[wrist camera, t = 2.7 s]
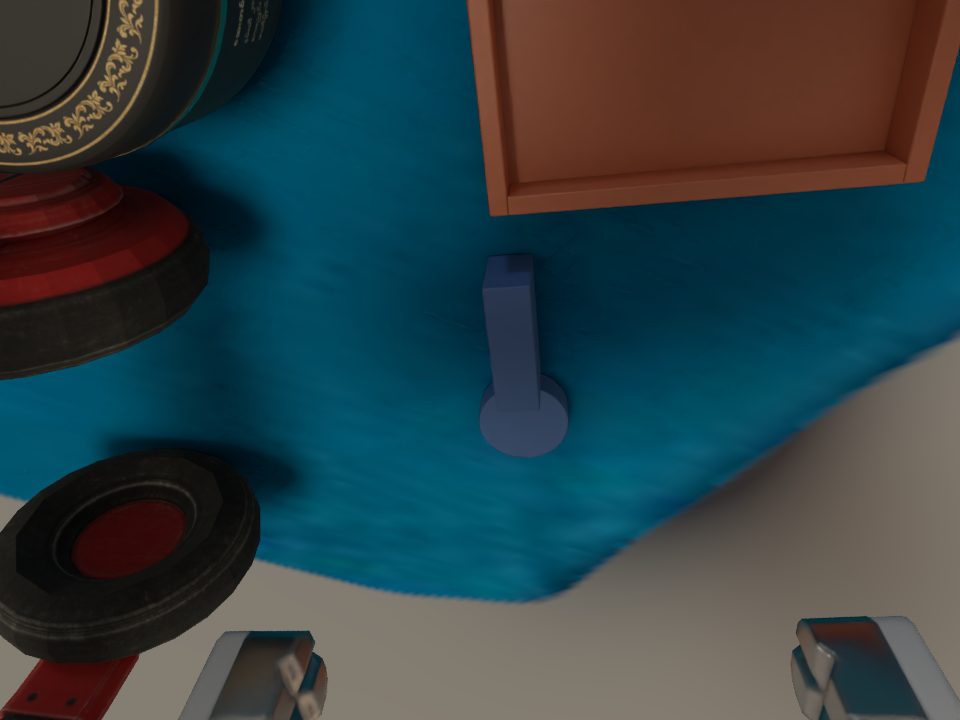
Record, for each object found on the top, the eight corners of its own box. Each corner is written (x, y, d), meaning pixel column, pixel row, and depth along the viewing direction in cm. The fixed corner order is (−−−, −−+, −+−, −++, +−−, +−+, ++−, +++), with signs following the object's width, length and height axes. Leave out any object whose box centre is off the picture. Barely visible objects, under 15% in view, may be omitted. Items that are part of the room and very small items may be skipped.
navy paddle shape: (461, 257, 23) (450, 291, 20) (560, 250, 22) (561, 283, 20) (486, 440, 27) (480, 485, 25) (569, 438, 27) (571, 483, 24)
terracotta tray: (494, 198, 21) (489, 217, 20) (468, -51, 18) (460, -53, 16) (893, 164, 20) (925, 182, 18) (958, -120, 16) (1006, -131, 14)
